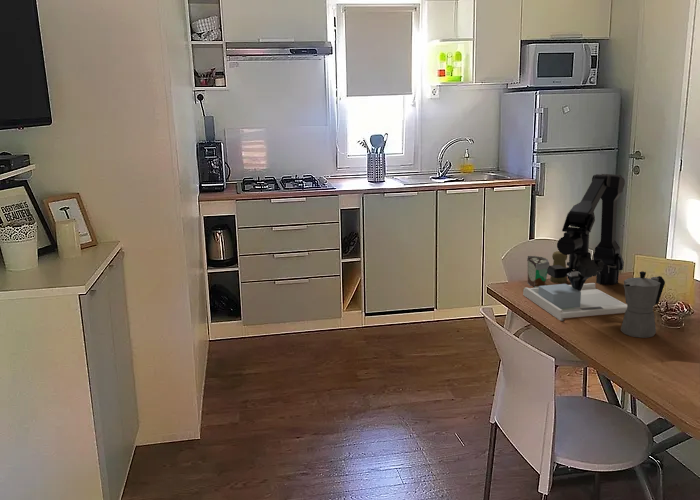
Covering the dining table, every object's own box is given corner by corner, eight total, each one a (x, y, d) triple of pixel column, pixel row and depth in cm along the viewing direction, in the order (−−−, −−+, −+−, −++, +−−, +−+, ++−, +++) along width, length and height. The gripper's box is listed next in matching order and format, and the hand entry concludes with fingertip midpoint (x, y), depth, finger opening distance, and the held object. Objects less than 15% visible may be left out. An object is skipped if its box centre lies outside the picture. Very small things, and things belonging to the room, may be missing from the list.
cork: (565, 278, 236) (566, 249, 234) (569, 283, 230) (570, 253, 228) (548, 278, 237) (549, 249, 234) (551, 283, 231) (553, 253, 228)
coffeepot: (634, 341, 175) (639, 279, 171) (608, 331, 184) (612, 271, 179) (674, 332, 181) (679, 271, 177) (646, 322, 190) (651, 263, 186)
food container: (553, 291, 221) (554, 263, 219) (535, 292, 221) (536, 264, 219) (543, 281, 233) (544, 255, 231) (526, 282, 233) (527, 255, 231)
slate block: (564, 298, 211) (565, 283, 210) (580, 306, 202) (581, 291, 201) (538, 300, 210) (538, 286, 208) (552, 309, 201) (553, 294, 199)
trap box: (593, 289, 222) (594, 280, 222) (639, 313, 197) (639, 304, 196) (523, 295, 218) (523, 286, 218) (560, 320, 193) (561, 311, 192)
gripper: (564, 256, 194) (562, 305, 198) (620, 251, 197) (617, 299, 201) (547, 248, 205) (545, 294, 208) (600, 244, 208) (598, 289, 211)
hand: (576, 295), depth 207 cm, fingers closed
